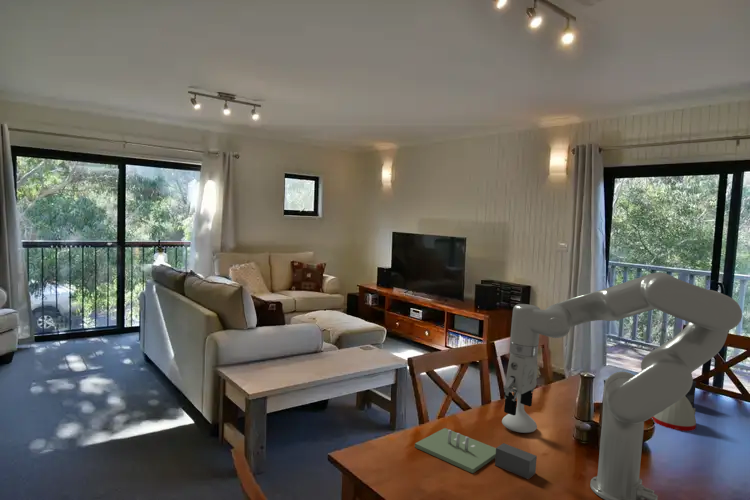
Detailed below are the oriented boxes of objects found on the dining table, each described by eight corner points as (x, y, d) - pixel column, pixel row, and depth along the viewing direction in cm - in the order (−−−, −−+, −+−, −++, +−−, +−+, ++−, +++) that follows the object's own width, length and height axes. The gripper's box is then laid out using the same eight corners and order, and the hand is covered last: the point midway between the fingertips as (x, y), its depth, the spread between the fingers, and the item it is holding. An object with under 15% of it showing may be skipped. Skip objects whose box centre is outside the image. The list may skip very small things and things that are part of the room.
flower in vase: (522, 439, 152) (528, 363, 150) (494, 425, 161) (499, 353, 159) (546, 430, 159) (552, 357, 158) (518, 417, 169) (523, 349, 167)
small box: (658, 399, 195) (660, 374, 194) (668, 397, 198) (670, 373, 197) (684, 409, 185) (686, 383, 185) (694, 407, 188) (697, 381, 187)
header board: (500, 454, 141) (501, 437, 141) (472, 473, 129) (474, 455, 129) (444, 431, 154) (445, 416, 154) (414, 447, 143) (415, 430, 142)
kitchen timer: (682, 416, 178) (686, 377, 177) (704, 432, 164) (708, 390, 163) (643, 413, 179) (647, 374, 178) (661, 429, 165) (665, 387, 164)
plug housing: (535, 473, 131) (536, 455, 131) (528, 479, 128) (529, 461, 127) (502, 459, 138) (503, 443, 137) (494, 465, 134) (496, 448, 134)
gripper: (522, 358, 122) (516, 422, 123) (549, 347, 135) (543, 405, 136) (495, 351, 127) (490, 412, 128) (524, 341, 140) (519, 397, 141)
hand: (518, 409), depth 132 cm, fingers open, 9 cm apart
